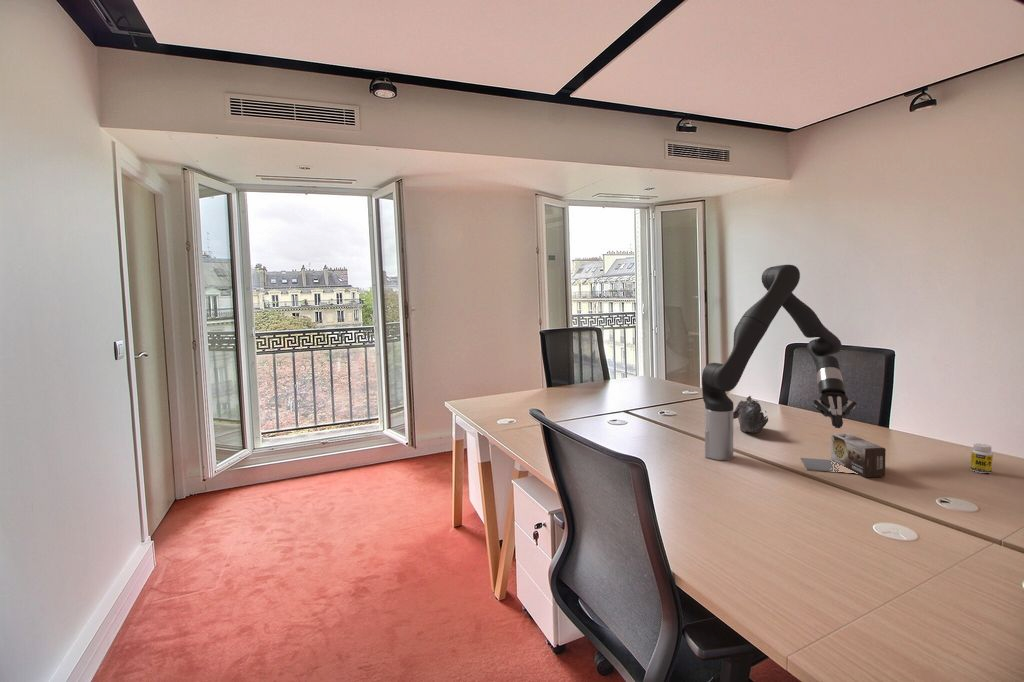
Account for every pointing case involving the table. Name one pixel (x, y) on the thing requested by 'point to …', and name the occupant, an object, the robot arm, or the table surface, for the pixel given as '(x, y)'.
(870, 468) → the coffee box
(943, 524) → the table surface
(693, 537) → the table surface
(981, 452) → the supplement bottle
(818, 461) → the grey flat sheet
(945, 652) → the table surface
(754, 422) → the dark grey lumpy sculpture
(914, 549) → the table surface
